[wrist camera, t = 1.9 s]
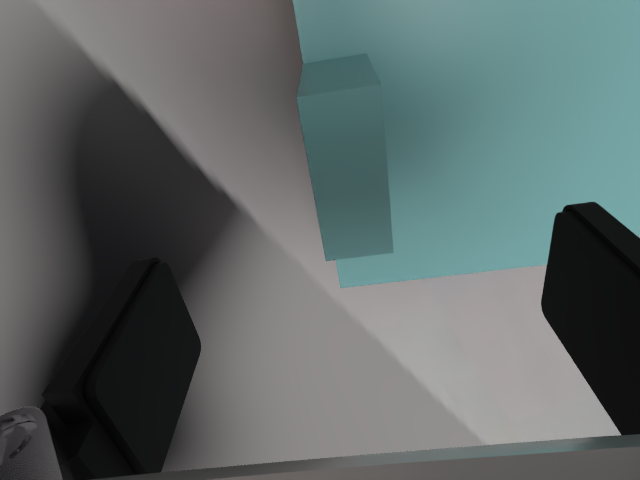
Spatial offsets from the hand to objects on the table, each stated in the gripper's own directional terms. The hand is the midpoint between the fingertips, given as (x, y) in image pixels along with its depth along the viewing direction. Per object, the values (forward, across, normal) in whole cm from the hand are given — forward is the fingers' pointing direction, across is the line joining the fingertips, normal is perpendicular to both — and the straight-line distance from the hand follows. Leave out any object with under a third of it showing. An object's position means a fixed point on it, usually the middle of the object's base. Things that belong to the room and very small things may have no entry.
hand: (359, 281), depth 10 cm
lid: (+12, -6, -1) cm, 13 cm away
